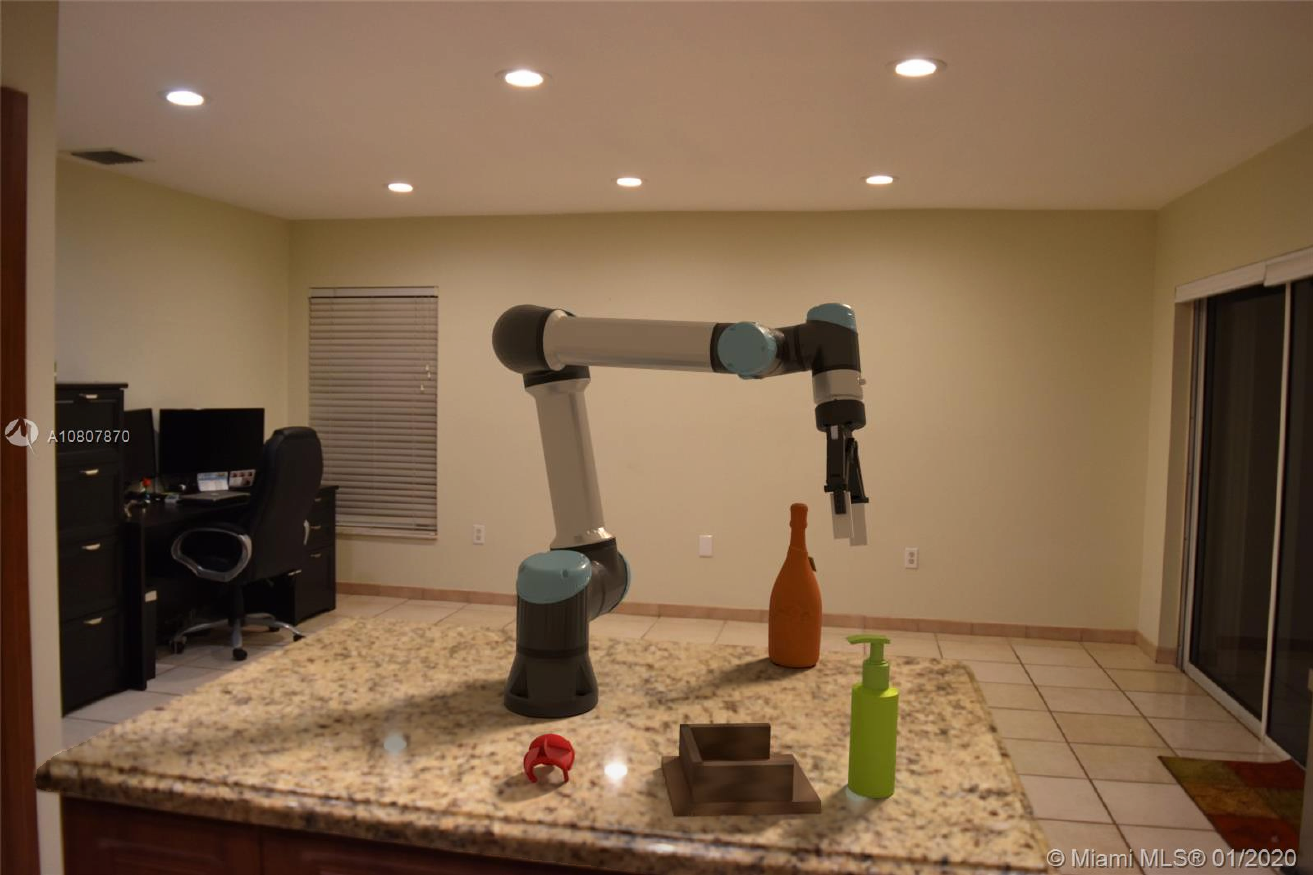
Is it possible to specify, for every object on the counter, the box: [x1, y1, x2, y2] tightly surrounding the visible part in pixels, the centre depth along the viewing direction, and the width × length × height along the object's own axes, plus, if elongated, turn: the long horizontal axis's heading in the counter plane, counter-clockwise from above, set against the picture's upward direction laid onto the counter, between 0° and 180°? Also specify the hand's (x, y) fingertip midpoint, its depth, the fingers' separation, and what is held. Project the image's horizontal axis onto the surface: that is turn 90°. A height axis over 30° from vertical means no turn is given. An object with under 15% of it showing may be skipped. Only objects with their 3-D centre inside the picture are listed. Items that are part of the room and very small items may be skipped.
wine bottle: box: [767, 502, 823, 669], centre depth 169 cm, size 10×10×30 cm
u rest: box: [660, 722, 822, 818], centre depth 116 cm, size 18×14×6 cm
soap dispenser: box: [845, 633, 900, 799], centre depth 117 cm, size 6×7×20 cm
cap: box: [522, 733, 576, 784], centre depth 118 cm, size 8×6×6 cm
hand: (851, 542), depth 134 cm, fingers open, 13 cm apart
